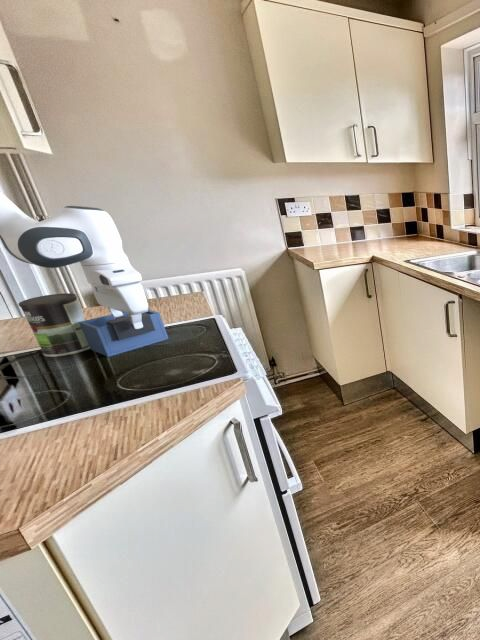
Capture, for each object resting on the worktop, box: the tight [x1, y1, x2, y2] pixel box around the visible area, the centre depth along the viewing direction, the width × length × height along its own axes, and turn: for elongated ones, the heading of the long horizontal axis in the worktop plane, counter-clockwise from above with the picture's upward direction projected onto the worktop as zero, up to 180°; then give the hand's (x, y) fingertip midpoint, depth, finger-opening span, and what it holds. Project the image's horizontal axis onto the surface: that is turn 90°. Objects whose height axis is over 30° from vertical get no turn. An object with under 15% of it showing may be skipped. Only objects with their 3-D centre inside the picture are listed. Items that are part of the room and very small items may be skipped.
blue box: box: [79, 309, 169, 358], centre depth 114 cm, size 14×11×8 cm
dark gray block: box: [106, 313, 155, 340], centre depth 111 cm, size 8×4×5 cm, turn 151°
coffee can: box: [18, 292, 91, 358], centre depth 110 cm, size 10×10×14 cm
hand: (129, 325), depth 110 cm, fingers open, 8 cm apart
